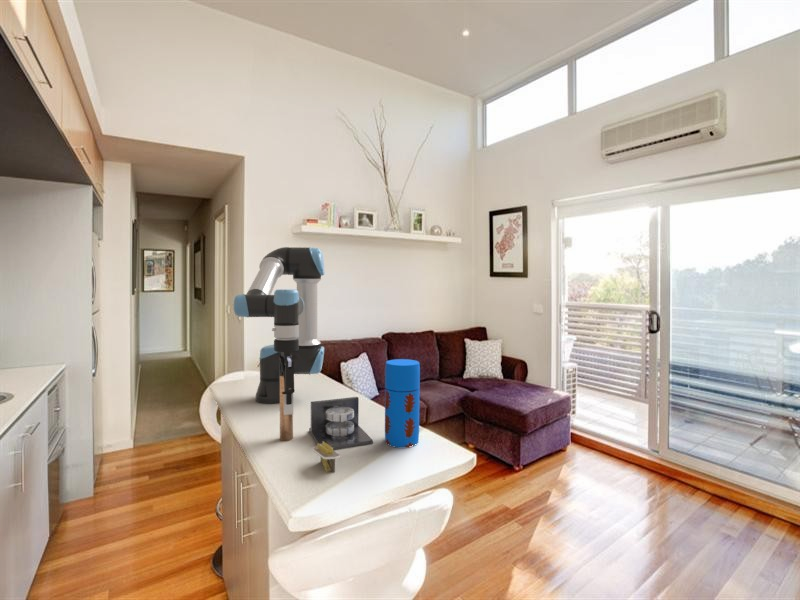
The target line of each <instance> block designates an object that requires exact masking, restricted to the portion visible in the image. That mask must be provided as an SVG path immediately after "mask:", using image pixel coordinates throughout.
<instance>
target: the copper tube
mask: <svg viewBox="0 0 800 600" xmlns="http://www.w3.org/2000/svg"><path fill="white" fill-rule="evenodd" d="M284 391H285V390H284V375H282V376H280V403H279V441H281V442H290V441H292V440H293V439H294V413H293V414H289V415H284V394H282V392H284Z"/></svg>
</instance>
